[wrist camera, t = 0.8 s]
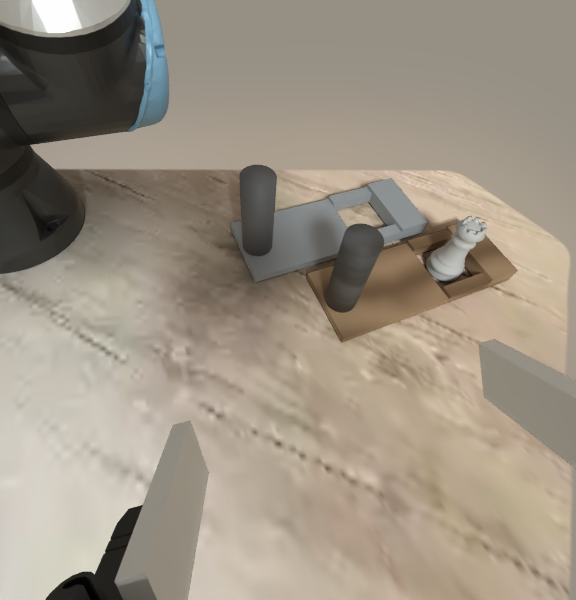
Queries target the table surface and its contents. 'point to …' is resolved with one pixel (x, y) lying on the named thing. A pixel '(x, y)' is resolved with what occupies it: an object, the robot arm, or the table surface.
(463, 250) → the rook chess piece
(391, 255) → the brown board with post
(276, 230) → the grey board with post
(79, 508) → the table surface
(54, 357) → the table surface
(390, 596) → the table surface
